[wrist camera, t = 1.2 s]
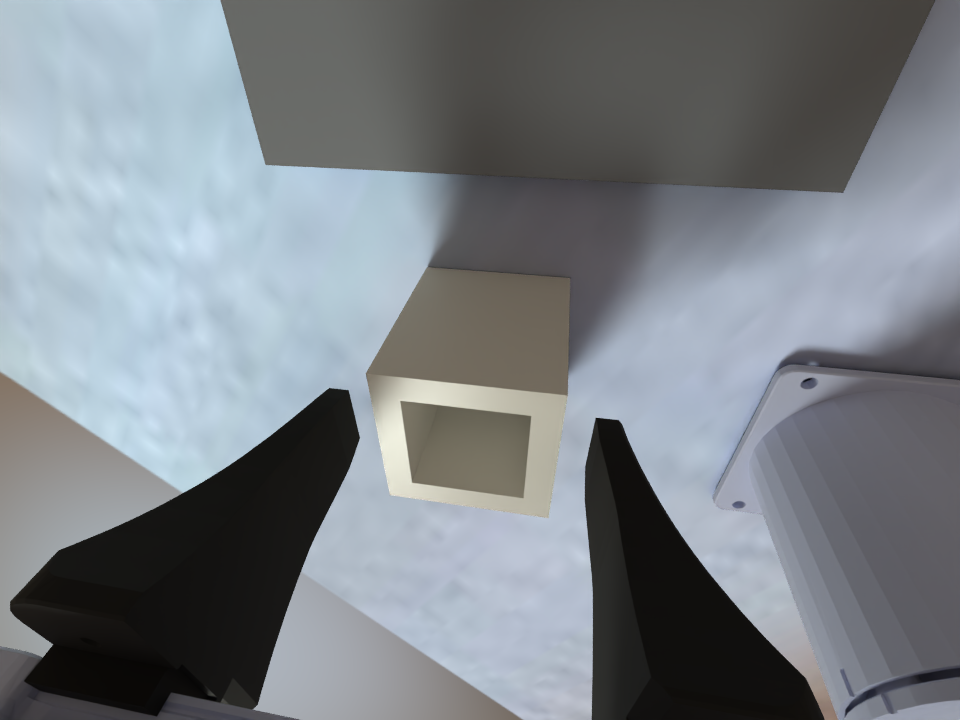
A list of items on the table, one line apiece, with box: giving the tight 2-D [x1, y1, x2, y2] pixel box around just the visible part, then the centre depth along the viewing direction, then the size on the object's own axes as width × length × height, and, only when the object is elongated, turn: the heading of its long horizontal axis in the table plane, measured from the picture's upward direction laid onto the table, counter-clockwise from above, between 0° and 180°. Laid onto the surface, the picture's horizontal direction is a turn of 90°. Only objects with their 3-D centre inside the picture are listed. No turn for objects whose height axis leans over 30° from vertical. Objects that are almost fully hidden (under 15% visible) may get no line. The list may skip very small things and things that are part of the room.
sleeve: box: [366, 267, 570, 518], centre depth 15 cm, size 5×5×6 cm
